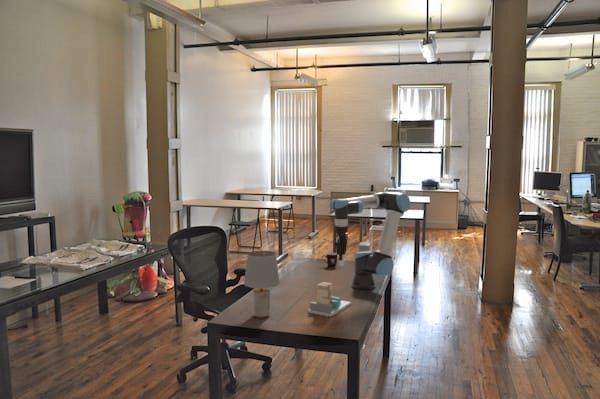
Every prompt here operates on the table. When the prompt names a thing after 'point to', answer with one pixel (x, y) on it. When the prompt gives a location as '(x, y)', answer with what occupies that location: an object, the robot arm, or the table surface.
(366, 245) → the hard drive box
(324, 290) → the birch block
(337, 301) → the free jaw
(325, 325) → the table surface
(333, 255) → the coffee mug
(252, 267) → the lamp
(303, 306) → the table surface
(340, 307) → the bed
